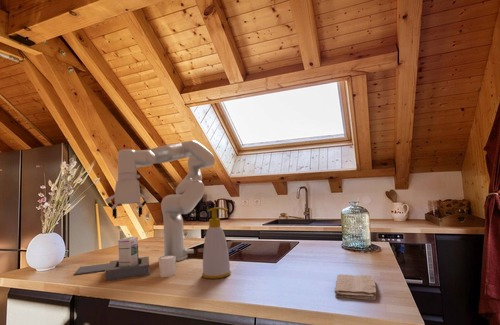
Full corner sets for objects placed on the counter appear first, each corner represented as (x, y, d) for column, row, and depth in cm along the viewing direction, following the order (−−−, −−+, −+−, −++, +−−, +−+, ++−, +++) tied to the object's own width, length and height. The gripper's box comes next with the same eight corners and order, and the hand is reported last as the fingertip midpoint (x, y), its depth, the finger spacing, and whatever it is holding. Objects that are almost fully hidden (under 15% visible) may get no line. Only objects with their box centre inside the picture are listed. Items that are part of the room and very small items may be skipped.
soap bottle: (224, 280, 105) (221, 208, 107) (196, 278, 109) (194, 209, 111) (236, 271, 115) (233, 206, 117) (210, 269, 119) (208, 206, 121)
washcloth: (334, 300, 84) (333, 289, 84) (336, 280, 101) (336, 271, 101) (378, 303, 80) (377, 292, 80) (373, 282, 97) (372, 272, 97)
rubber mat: (108, 264, 137) (108, 263, 137) (105, 271, 125) (105, 269, 125) (80, 268, 132) (80, 266, 132) (73, 275, 121) (73, 273, 121)
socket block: (148, 265, 131) (148, 256, 132) (149, 274, 116) (148, 264, 117) (110, 270, 126) (110, 261, 126) (105, 281, 111) (105, 270, 111)
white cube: (179, 272, 117) (179, 255, 118) (169, 278, 111) (169, 259, 111) (165, 272, 119) (165, 254, 120) (155, 277, 113) (154, 259, 114)
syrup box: (131, 274, 118) (130, 239, 119) (118, 274, 119) (118, 239, 120) (139, 270, 123) (138, 236, 125) (127, 270, 125) (126, 236, 126)
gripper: (148, 177, 131) (148, 215, 129) (106, 178, 125) (106, 218, 124) (148, 176, 124) (149, 216, 122) (104, 177, 118) (104, 219, 116)
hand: (127, 217), depth 123 cm, fingers open, 9 cm apart
